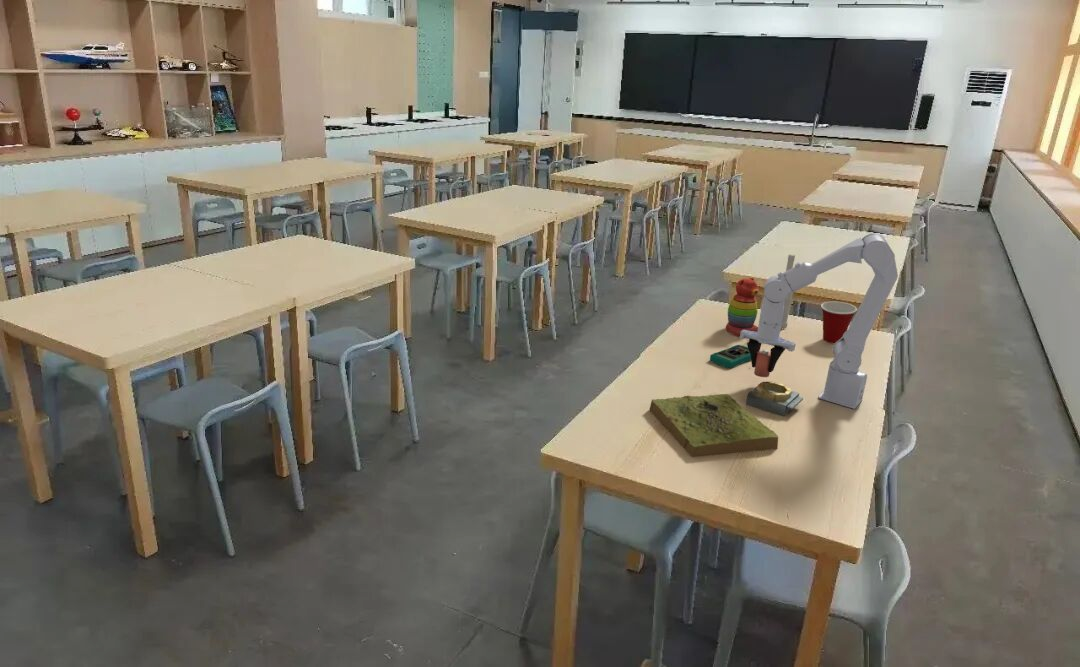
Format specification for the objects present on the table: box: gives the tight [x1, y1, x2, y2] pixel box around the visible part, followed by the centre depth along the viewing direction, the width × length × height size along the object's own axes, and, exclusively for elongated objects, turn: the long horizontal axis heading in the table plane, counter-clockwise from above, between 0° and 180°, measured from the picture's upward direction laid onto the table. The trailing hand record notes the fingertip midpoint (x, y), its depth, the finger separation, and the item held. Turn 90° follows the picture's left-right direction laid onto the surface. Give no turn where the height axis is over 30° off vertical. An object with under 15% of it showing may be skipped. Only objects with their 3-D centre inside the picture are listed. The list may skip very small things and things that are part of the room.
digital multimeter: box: [709, 344, 751, 369], centre depth 217 cm, size 7×15×3 cm, turn 132°
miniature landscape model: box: [649, 393, 779, 458], centre depth 174 cm, size 22×24×5 cm
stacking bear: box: [725, 277, 760, 337], centre depth 239 cm, size 11×10×18 cm
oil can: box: [753, 349, 771, 378], centre depth 198 cm, size 4×4×7 cm
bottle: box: [781, 253, 796, 329], centre depth 243 cm, size 5×5×25 cm
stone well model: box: [745, 381, 804, 417], centre depth 188 cm, size 11×10×4 cm
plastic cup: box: [820, 300, 858, 345], centre depth 235 cm, size 11×11×12 cm
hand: (762, 368), depth 198 cm, fingers closed on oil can, 4 cm apart
